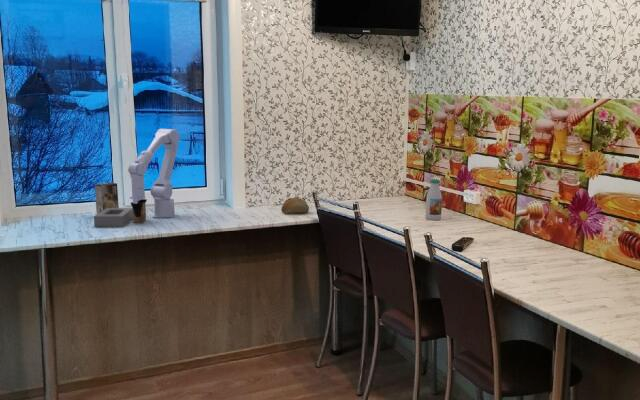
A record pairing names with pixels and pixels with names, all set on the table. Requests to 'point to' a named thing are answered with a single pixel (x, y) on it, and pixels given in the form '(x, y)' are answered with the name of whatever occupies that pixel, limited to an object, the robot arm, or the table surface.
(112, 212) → the well block
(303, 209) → the bread roll
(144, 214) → the walnut block
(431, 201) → the milk bottle
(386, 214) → the table surface
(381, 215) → the table surface
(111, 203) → the coffee box
